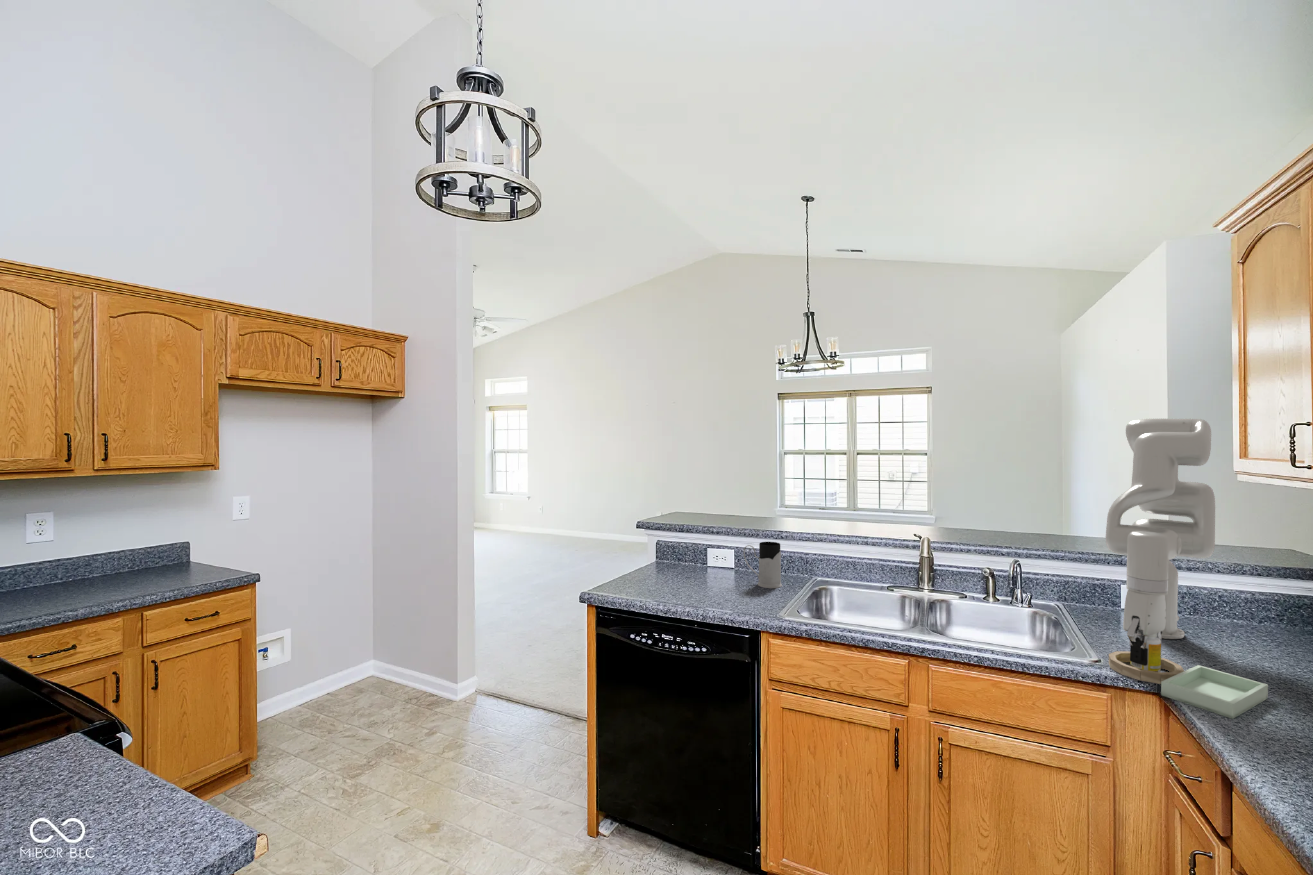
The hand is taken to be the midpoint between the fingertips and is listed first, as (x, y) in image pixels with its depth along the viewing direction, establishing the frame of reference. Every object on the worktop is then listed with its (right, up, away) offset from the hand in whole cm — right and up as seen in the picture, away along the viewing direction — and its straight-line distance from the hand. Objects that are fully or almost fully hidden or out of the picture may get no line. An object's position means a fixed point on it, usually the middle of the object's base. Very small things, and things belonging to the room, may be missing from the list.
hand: (1145, 660), depth 140 cm
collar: (0, -3, 0) cm, 3 cm away
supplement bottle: (0, -3, 0) cm, 3 cm away
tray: (+4, -3, -13) cm, 14 cm away
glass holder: (-77, -1, +76) cm, 108 cm away
